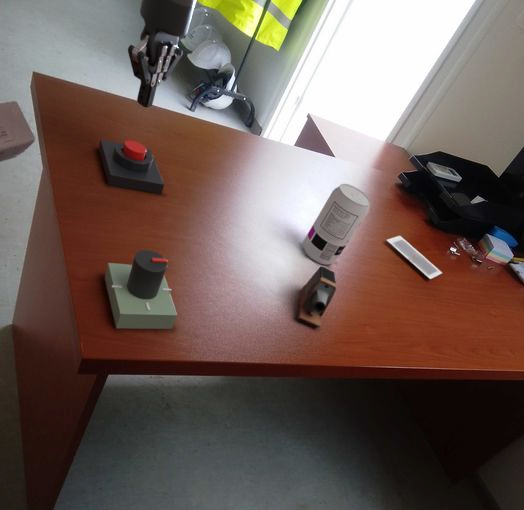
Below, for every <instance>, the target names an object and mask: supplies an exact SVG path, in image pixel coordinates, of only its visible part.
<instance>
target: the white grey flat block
mask: <svg viewBox="0 0 524 510" xmlns="http://www.w3.org/2000/svg"><path fill="white" fill-rule="evenodd" d="M386 241H387V242H388V243H389V244H390V245H391V246H392V247H393V248H394V249H396V250H397V251H398V252H399V253H400V254H401V255H402V256H403V257H404V258H405V259H407V260H408V261H409V262H410V263H411V264H413V265H414V266H415V267H416V269H418V270H419V271H420V272H421V273H422V274H424V276H425V277H427V278H428V279H429V280H432V279H434V278H436V277H438V276H440V275H441V274H443V272H442V271H441V270H440V269H439V268H438V267H436V266H435V265H434V264H433V263H432V262H431V261H429V259H427V257H425V256H424V255H423V254H422V253H421V252H420V251H418V250H417V249H416V248H415V247H414V246H413V245H411V243H409V242H408V241H407V240H406V239H405V238H404V237H402V236H401V235H397V236H394V237H391V238H388V239H386Z"/></svg>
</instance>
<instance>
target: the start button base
mask: <svg viewBox="0 0 524 510" xmlns="http://www.w3.org/2000/svg"><path fill="white" fill-rule="evenodd" d="M124 144H125V142H115V141H110V140H105V139H102V138H100V139H99V145H98V153H99V156H100V160H101V163H102V166H103V167H102V168H103V171H104V174H105V177H106V181H107V185H108V186H111V187H117V188H123V189H129V190H135V191H140V192H146V193H151V194H157V195H162V193H163V191H164V187H165V183H164V181H163V178H162V175H161V173H160V171H159V167H158V165H157V163H156V159H155V157H154V155H153V152H152V150H151V149H146V154H145V158H144V160H135V159H132V158H130V157H128V156H126V155H125V154H124V153H123V149H124Z"/></svg>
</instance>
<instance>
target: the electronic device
mask: <svg viewBox="0 0 524 510" xmlns="http://www.w3.org/2000/svg"><path fill="white" fill-rule="evenodd" d="M335 275H336V274H335V272H334V271H333V270H331V269H328V268H327V267H324V266H323V265H321V266H319V267H318V269H317V270H316V271H315V273H313V275H312V276H311V277H310V279H308V280H307V282H306V283H305V284H304V285H303V286H302V288H301V289H300V295H299V301H298V311H297V312H298V313H297V317H296V318H297V320H298V321H299V322H301V323H303V324H306V325H308V326H310V327H312V328H314V329H316V328H321V327H322V321H323V316H324V313H325V312H326V310H327V308H328V307H329V305H330V303H331V302H332V300H333V297H334V296H335V293H336V291H337V282H336V277H335Z"/></svg>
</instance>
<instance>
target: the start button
mask: <svg viewBox="0 0 524 510" xmlns="http://www.w3.org/2000/svg"><path fill="white" fill-rule="evenodd" d="M124 143H125V144H124V149H123V153H124V154H125V155H126V156H128V157H130V158H132V159H135V160H144V158H145V154H146V150H147V148H146V146H145V145H143V144H142V143H141V142H138V141H135V140H130V139H129V140H126V141H124Z"/></svg>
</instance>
